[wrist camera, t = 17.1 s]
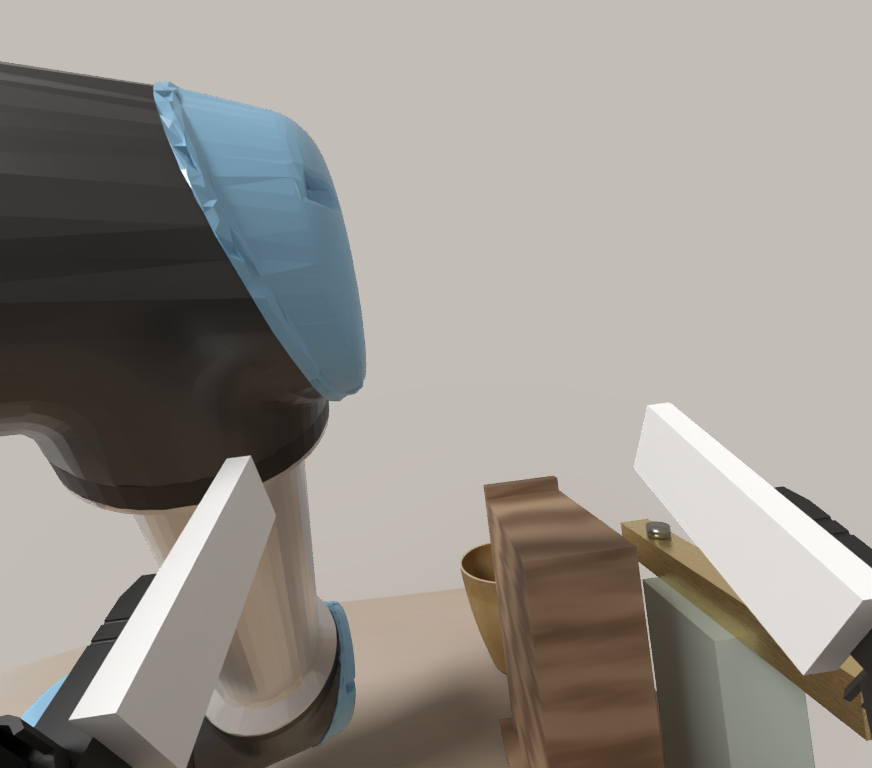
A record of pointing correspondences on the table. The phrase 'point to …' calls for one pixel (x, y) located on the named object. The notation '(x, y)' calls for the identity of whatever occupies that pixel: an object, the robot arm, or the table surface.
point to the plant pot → (484, 599)
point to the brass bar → (738, 616)
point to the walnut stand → (570, 634)
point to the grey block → (720, 693)
